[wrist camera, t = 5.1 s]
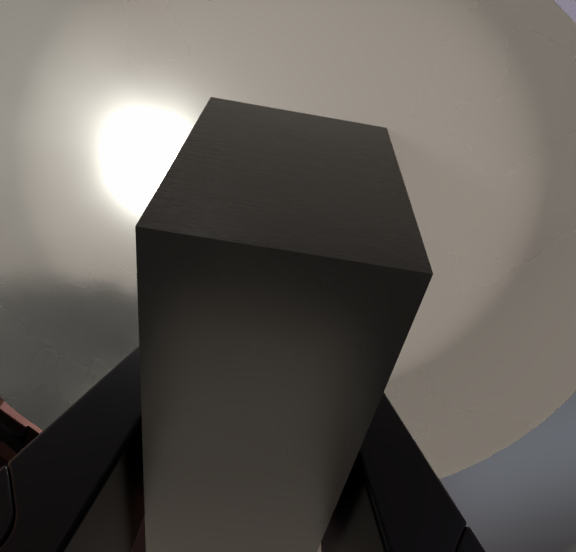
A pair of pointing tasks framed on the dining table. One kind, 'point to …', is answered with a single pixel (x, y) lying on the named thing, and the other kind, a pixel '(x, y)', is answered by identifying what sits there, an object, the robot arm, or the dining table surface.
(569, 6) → the dining table surface
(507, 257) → the lid
